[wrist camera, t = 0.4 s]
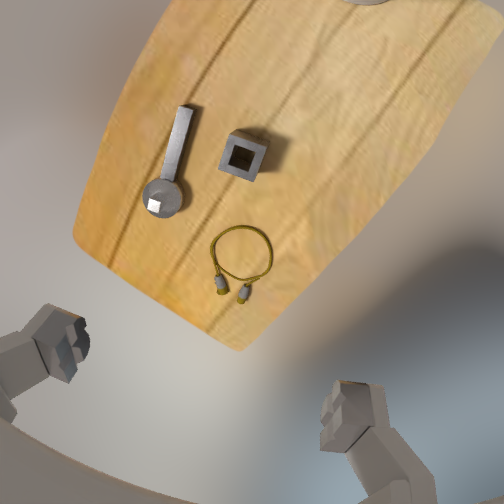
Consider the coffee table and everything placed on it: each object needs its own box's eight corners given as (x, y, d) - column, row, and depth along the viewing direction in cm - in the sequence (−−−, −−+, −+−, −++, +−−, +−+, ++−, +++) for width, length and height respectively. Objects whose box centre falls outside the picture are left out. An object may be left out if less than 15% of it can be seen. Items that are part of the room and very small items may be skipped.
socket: (236, 129, 48) (229, 134, 43) (269, 141, 48) (266, 147, 44) (225, 161, 51) (217, 169, 46) (257, 173, 51) (253, 182, 47)
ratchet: (170, 101, 47) (156, 104, 42) (210, 113, 47) (200, 116, 42) (145, 205, 56) (131, 217, 52) (179, 218, 57) (168, 231, 52)
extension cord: (190, 270, 63) (187, 275, 61) (234, 211, 55) (232, 215, 54) (240, 303, 65) (239, 310, 63) (290, 251, 58) (290, 257, 56)
